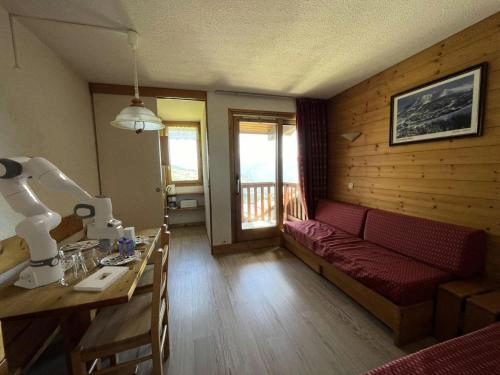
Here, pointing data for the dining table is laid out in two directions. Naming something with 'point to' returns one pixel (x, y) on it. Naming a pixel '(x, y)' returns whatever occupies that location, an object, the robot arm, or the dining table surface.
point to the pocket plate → (99, 285)
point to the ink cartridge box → (126, 247)
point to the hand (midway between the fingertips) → (106, 245)
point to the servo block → (105, 246)
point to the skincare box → (129, 234)
